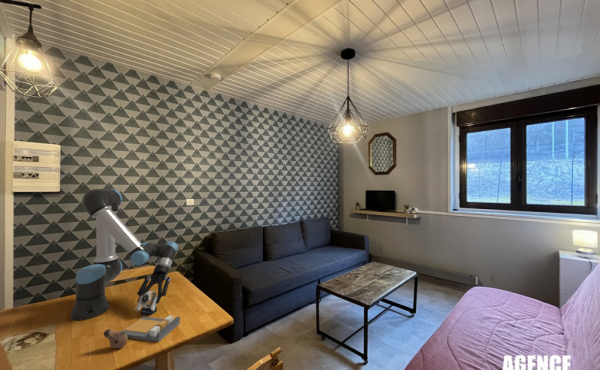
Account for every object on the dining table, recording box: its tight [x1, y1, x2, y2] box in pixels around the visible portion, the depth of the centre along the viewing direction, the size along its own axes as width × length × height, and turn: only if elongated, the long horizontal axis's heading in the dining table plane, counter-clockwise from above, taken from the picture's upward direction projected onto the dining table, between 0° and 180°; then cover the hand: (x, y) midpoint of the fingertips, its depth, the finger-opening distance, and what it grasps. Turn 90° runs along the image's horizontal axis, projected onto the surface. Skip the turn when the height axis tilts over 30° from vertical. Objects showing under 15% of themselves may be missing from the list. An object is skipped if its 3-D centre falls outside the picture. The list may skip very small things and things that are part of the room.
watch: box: [140, 290, 158, 317], centre depth 127 cm, size 6×8×11 cm
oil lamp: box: [103, 328, 129, 349], centre depth 100 cm, size 9×4×8 cm, turn 100°
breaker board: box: [122, 315, 181, 343], centre depth 112 cm, size 20×14×4 cm
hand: (144, 309), depth 123 cm, fingers open, 7 cm apart
